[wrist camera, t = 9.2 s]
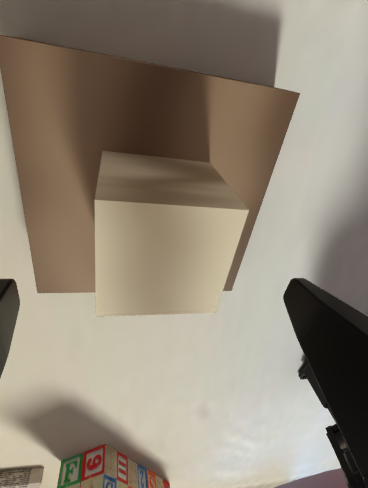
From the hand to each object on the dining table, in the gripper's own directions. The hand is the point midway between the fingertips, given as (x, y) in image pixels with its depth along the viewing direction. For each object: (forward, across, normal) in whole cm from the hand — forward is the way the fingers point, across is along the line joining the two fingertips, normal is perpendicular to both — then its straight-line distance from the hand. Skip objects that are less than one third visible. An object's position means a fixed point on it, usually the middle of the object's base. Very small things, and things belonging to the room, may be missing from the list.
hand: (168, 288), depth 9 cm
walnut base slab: (+9, 0, 0) cm, 9 cm away
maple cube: (+6, 0, 0) cm, 6 cm away
